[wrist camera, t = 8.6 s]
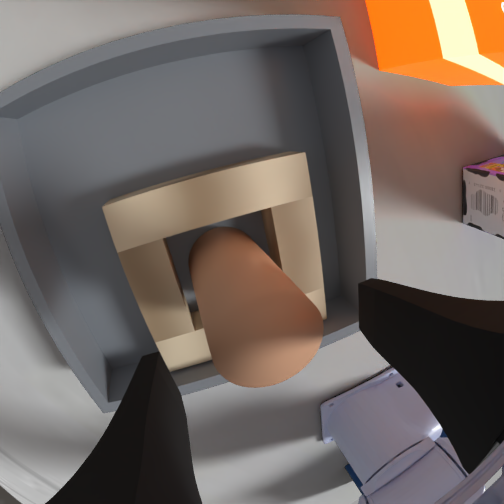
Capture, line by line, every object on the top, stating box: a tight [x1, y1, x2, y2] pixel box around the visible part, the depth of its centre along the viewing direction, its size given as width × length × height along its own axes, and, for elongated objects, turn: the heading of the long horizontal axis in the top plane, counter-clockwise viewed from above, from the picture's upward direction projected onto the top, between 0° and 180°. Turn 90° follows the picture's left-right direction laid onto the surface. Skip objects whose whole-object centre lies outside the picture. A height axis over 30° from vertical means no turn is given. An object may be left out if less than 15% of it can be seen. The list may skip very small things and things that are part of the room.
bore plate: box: [102, 151, 327, 372], centre depth 16 cm, size 10×10×2 cm
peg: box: [188, 227, 324, 388], centre depth 13 cm, size 4×4×8 cm
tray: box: [0, 15, 377, 413], centre depth 15 cm, size 18×18×4 cm
